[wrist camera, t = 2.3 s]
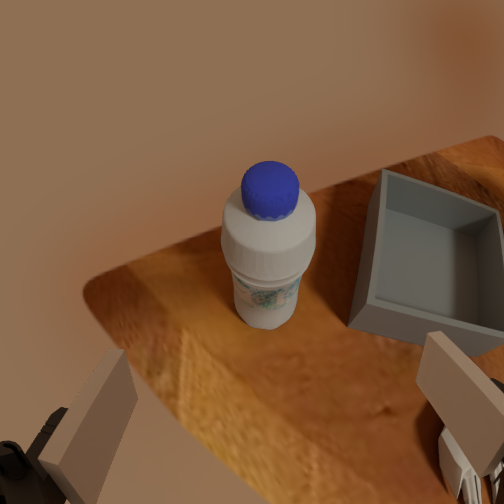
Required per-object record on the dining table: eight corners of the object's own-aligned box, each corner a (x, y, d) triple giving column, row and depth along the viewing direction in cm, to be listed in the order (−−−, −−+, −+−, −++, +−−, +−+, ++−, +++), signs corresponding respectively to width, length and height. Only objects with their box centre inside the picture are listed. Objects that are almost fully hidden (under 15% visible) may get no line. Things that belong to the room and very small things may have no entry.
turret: (446, 538, 20) (466, 550, 16) (421, 414, 27) (445, 417, 23) (502, 495, 22) (524, 500, 17) (482, 374, 28) (508, 370, 24)
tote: (475, 239, 38) (499, 210, 32) (475, 357, 30) (510, 340, 24) (368, 204, 41) (382, 168, 35) (347, 327, 33) (366, 303, 27)
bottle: (227, 286, 36) (201, 147, 19) (285, 272, 37) (306, 129, 19) (241, 343, 33) (222, 237, 15) (303, 327, 33) (351, 209, 16)
